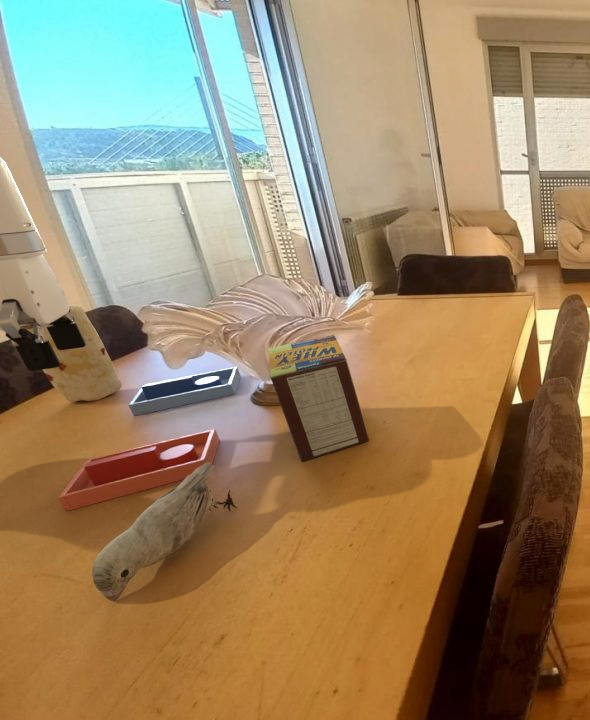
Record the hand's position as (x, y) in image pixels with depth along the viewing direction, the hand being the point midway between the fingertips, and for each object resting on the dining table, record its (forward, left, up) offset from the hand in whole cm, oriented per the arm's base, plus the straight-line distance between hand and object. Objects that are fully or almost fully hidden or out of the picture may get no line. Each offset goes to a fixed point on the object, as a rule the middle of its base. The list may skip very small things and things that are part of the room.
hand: (59, 357), depth 73 cm
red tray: (+7, -11, -18) cm, 22 cm away
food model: (-11, +33, -18) cm, 39 cm away
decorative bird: (+14, -35, -18) cm, 42 cm away
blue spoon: (+6, +22, -18) cm, 29 cm away
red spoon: (+7, -11, -18) cm, 22 cm away
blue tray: (+7, +22, -18) cm, 30 cm away
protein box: (+32, -14, -18) cm, 39 cm away
